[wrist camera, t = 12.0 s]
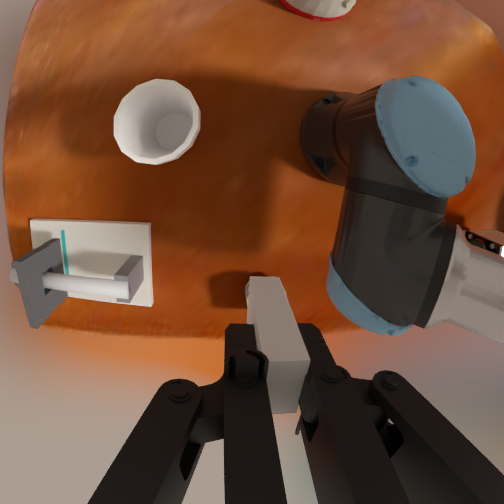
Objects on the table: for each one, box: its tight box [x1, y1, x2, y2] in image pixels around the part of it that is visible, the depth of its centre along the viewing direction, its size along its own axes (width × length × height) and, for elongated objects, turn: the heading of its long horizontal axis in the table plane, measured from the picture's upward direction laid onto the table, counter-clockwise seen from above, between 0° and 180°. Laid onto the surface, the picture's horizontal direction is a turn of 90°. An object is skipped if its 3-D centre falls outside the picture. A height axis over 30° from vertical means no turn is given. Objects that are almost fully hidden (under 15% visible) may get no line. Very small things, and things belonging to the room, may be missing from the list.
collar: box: [15, 238, 68, 329], centre depth 32 cm, size 10×2×11 cm, turn 174°
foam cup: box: [114, 79, 201, 165], centre depth 31 cm, size 10×9×13 cm
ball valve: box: [462, 230, 504, 257], centre depth 40 cm, size 18×8×18 cm, turn 91°
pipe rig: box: [9, 218, 153, 307], centre depth 37 cm, size 14×24×11 cm, turn 84°
